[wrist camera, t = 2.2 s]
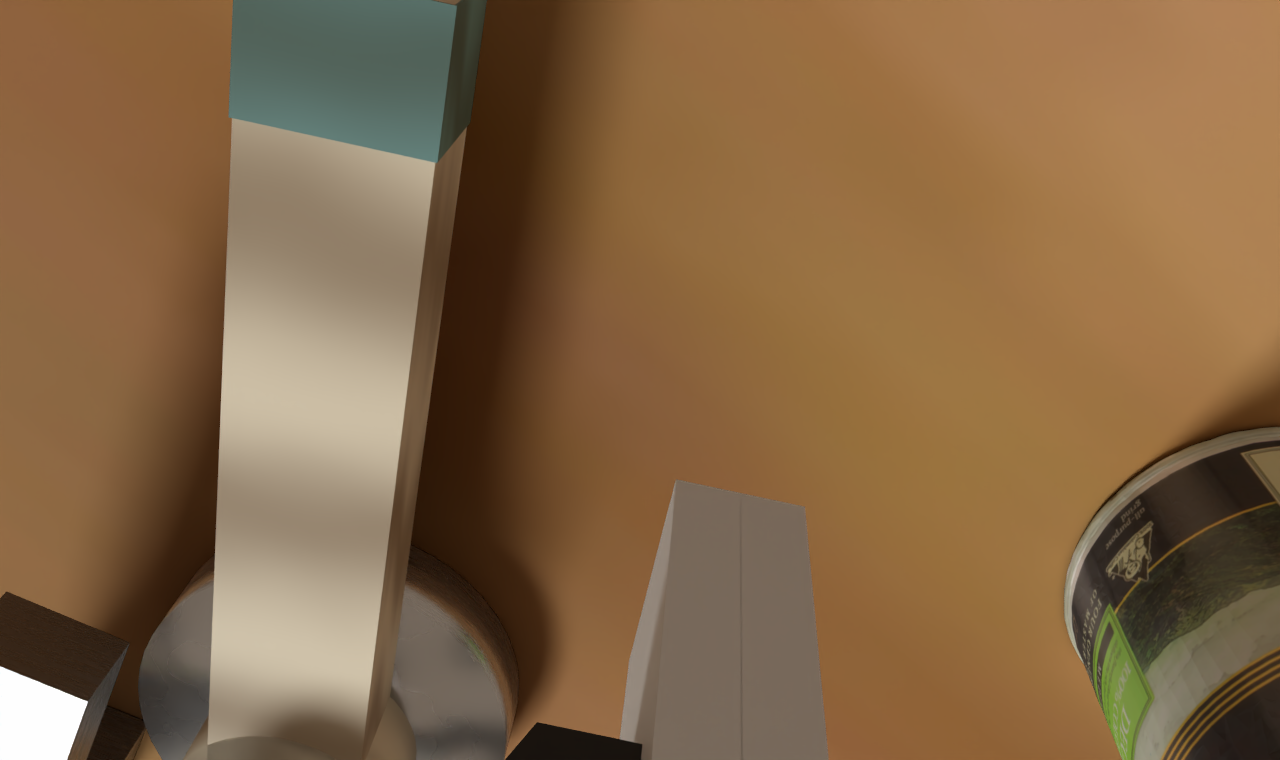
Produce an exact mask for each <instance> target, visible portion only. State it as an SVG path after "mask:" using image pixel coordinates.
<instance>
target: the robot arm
mask: <svg viewBox="0 0 1280 760" xmlns="http://www.w3.org/2000/svg"><path fill="white" fill-rule="evenodd" d="M505 760H828V749H827V739H826V728H825V717H824V707H823V696H822V685H821V675H820V664H819V653H818V643H817V632H816V621H815V611H814V600H813V589H812V579H811V568H810V557H809V547H808V536H807V525H806V515H805V507H803V506H798V505H794V504H789V503H784V502H779V501H775V500H770V499H765V498H761V497H756V496H751V495H747V494H742V493H737V492H732V491H728V490H723V489H718V488H714V487H709V486H704V485H699V484H695V483H690V482H685V481H681V480H676V482H675V485H674V489H673V493H672V497H671V501H670V505H669V509H668V513H667V516H666V520H665V524H664V528H663V532H662V536H661V540H660V544H659V547H658V551H657V555H656V559H655V563H654V567H653V571H652V575H651V578H650V582H649V586H648V590H647V594H646V598H645V602H644V606H643V609H642V613H641V617H640V621H639V625H638V629H637V633H636V637H635V640H634V644H633V648H632V652H631V656H630V660H629V667H628V675H627V684H626V692H625V700H624V708H623V716H622V725H621V733H620V739H615V738H611V737H606V736H601V735H596V734H591V733H586V732H581V731H577V730H572V729H567V728H562V727H557V726H552V725H547V724H543V723H538V722H537V723H536V724H535V725H534V727H533V728H532V729H531V730H530V731H529V732H528V734H527V735H526V736H525V737H524V738H523V739H522V741H521V742H520V743H519V744H518V745H517V747H516V748H515V749H514V750H513V751H512V752H511V754H510V755H509V756H508V757H507V758H506V759H505Z"/></svg>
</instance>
